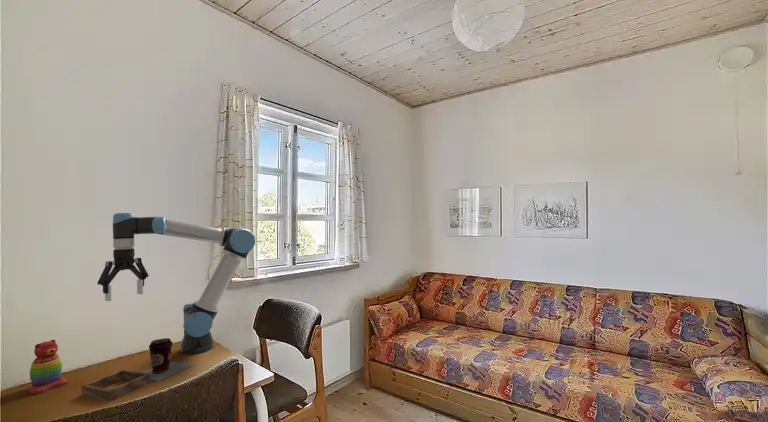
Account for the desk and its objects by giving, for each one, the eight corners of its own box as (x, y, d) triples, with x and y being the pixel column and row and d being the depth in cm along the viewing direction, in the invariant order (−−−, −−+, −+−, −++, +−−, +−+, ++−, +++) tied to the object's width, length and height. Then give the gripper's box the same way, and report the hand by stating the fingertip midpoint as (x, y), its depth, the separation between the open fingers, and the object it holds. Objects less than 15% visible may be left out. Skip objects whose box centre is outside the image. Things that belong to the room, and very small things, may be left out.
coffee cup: (160, 376, 148) (160, 344, 149) (143, 375, 150) (143, 343, 150) (177, 367, 157) (176, 337, 157) (160, 366, 159) (160, 336, 159)
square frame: (123, 377, 149) (123, 369, 149) (150, 382, 144) (150, 373, 144) (81, 395, 135) (81, 386, 135) (109, 401, 130) (109, 391, 130)
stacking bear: (34, 395, 136) (34, 348, 136) (22, 390, 141) (22, 344, 141) (69, 383, 146) (69, 339, 146) (57, 379, 150) (57, 336, 151)
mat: (168, 362, 164) (168, 361, 164) (191, 366, 159) (191, 364, 159) (133, 377, 149) (133, 376, 149) (157, 382, 144) (157, 380, 144)
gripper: (145, 246, 170) (146, 291, 170) (86, 251, 147) (87, 303, 147) (156, 246, 168) (157, 291, 167) (98, 251, 144) (99, 304, 144)
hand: (124, 297), depth 157 cm, fingers open, 13 cm apart
